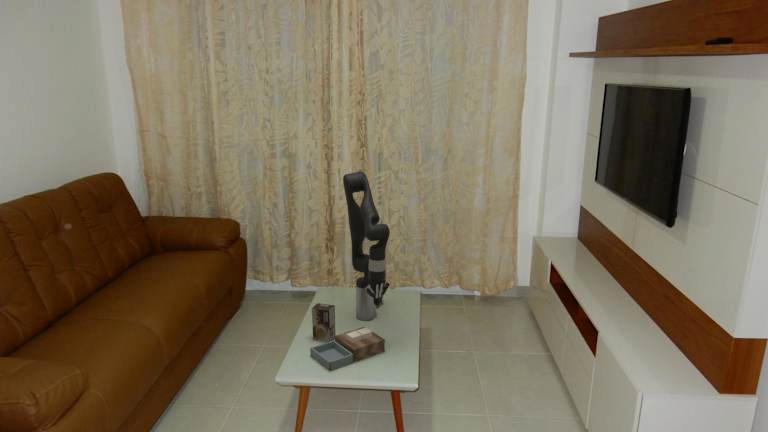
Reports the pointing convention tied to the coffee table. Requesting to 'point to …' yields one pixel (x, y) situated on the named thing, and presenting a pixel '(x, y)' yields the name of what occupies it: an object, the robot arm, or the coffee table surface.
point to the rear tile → (365, 333)
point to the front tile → (353, 336)
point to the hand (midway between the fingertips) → (376, 304)
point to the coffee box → (323, 322)
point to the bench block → (362, 345)
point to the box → (332, 355)
